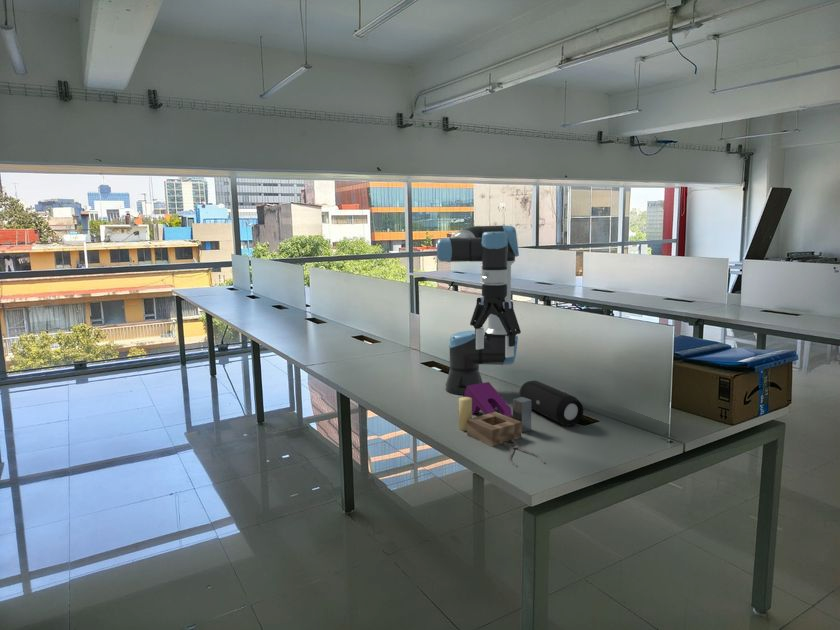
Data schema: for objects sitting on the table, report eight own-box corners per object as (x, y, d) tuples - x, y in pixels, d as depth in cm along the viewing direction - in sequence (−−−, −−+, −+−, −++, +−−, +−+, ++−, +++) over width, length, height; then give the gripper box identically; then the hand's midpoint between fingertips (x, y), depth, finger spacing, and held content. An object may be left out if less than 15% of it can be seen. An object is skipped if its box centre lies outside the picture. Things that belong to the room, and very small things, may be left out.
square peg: (521, 426, 186) (522, 396, 185) (531, 429, 183) (531, 399, 181) (512, 428, 184) (512, 399, 182) (521, 432, 181) (521, 402, 179)
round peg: (466, 425, 188) (466, 396, 186) (474, 428, 185) (474, 399, 183) (456, 427, 186) (456, 398, 184) (464, 431, 182) (464, 401, 181)
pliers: (519, 468, 154) (482, 442, 172) (519, 470, 154) (482, 445, 172) (549, 461, 158) (509, 436, 176) (548, 464, 158) (509, 439, 176)
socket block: (495, 426, 186) (495, 411, 186) (521, 437, 177) (521, 422, 176) (466, 434, 180) (466, 419, 179) (492, 446, 170) (492, 430, 169)
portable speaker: (517, 407, 206) (517, 380, 204) (540, 403, 210) (540, 377, 208) (560, 430, 183) (561, 400, 181) (585, 425, 186) (586, 396, 185)
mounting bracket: (509, 433, 196) (482, 399, 209) (516, 415, 192) (488, 381, 205) (487, 439, 192) (461, 403, 204) (494, 420, 187) (466, 385, 200)
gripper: (458, 281, 179) (459, 347, 182) (514, 288, 158) (513, 362, 162) (477, 279, 183) (477, 344, 186) (533, 286, 162) (532, 358, 166)
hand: (494, 352), depth 174 cm, fingers open, 13 cm apart
